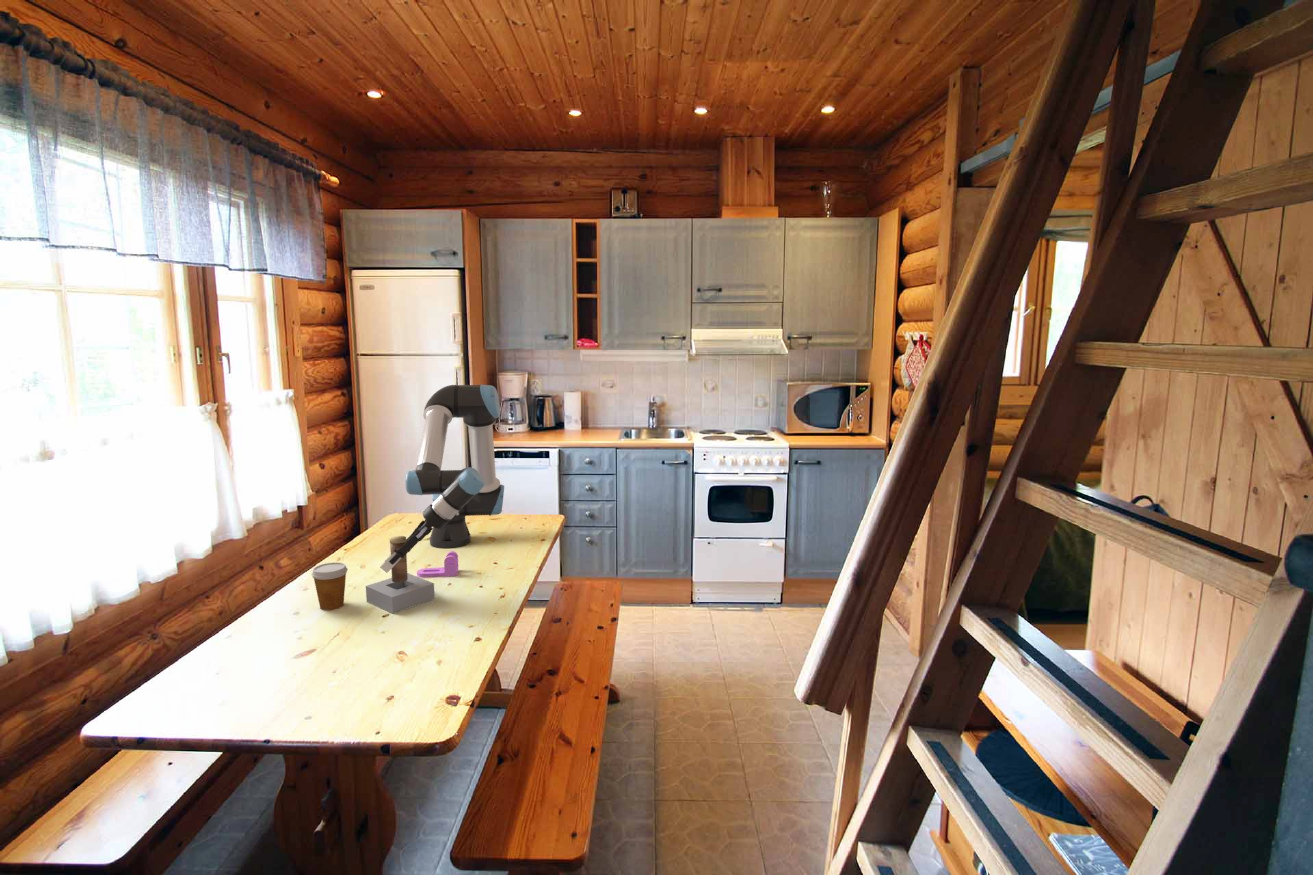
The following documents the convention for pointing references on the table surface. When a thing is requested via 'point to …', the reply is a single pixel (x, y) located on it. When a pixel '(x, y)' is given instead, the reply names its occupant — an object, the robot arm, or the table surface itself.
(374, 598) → the socket block
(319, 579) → the disposable coffee cup
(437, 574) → the bracket
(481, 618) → the table surface
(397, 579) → the walnut pin
